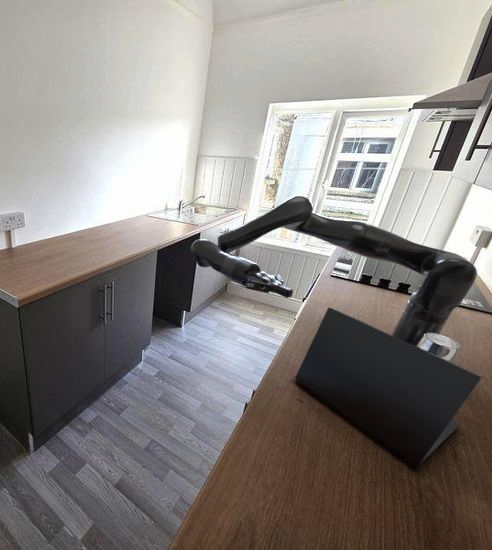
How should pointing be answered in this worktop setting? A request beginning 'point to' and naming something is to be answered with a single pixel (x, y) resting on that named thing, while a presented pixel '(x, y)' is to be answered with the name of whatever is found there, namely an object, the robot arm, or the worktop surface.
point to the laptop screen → (385, 382)
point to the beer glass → (439, 345)
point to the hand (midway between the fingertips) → (290, 294)
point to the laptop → (443, 437)
